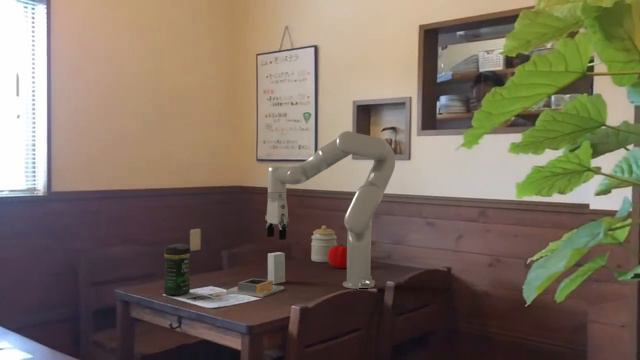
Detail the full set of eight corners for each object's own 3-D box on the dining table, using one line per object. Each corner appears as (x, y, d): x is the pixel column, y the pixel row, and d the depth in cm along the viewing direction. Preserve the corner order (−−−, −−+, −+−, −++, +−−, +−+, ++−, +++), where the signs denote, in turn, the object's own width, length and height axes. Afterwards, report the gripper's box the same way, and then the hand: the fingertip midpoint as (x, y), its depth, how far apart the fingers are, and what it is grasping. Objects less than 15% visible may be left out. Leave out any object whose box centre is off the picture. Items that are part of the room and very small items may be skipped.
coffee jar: (178, 297, 222) (178, 246, 221) (160, 295, 225) (160, 245, 224) (193, 292, 231) (193, 243, 230) (176, 290, 234) (176, 241, 233)
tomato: (331, 270, 280) (331, 245, 279) (325, 265, 291) (325, 242, 290) (356, 269, 282) (356, 245, 282) (349, 265, 294) (349, 242, 293)
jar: (308, 262, 301) (309, 226, 301) (313, 257, 314) (313, 223, 314) (334, 263, 299) (335, 227, 299) (338, 258, 312) (338, 224, 312)
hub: (283, 289, 238) (284, 280, 238) (262, 297, 223) (262, 287, 223) (248, 285, 245) (249, 276, 245) (226, 292, 230) (226, 283, 230)
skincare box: (278, 280, 254) (278, 251, 254) (285, 282, 251) (285, 253, 251) (267, 282, 250) (267, 253, 250) (273, 284, 247) (274, 254, 247)
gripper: (295, 197, 245) (295, 240, 245) (274, 195, 259) (273, 235, 260) (279, 197, 240) (279, 241, 241) (258, 195, 255) (258, 236, 255)
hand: (276, 238), depth 250 cm, fingers open, 9 cm apart
